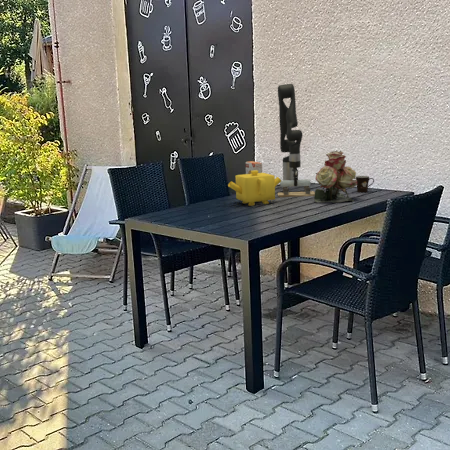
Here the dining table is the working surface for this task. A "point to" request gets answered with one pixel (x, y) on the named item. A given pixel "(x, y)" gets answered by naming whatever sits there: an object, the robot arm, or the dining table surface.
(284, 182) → the rod
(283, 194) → the clip board
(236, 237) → the dining table surface
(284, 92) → the robot arm
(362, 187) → the coffee mug
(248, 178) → the yellow boxy teapot
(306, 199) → the dining table surface
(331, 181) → the rose bouquet
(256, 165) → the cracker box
